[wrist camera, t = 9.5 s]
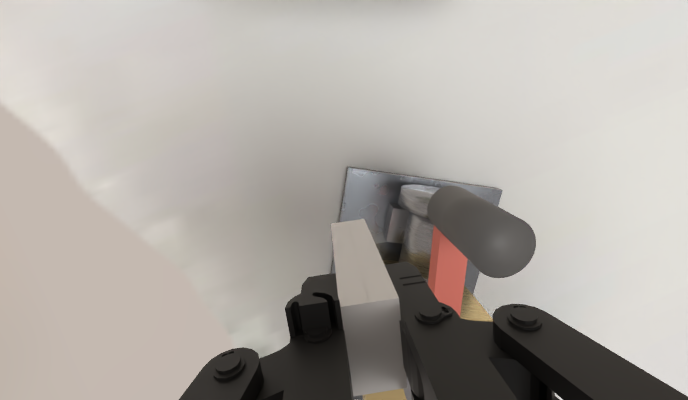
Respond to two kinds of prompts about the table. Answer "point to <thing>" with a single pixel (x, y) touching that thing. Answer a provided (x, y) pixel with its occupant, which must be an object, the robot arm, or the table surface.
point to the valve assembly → (405, 229)
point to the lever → (472, 244)
